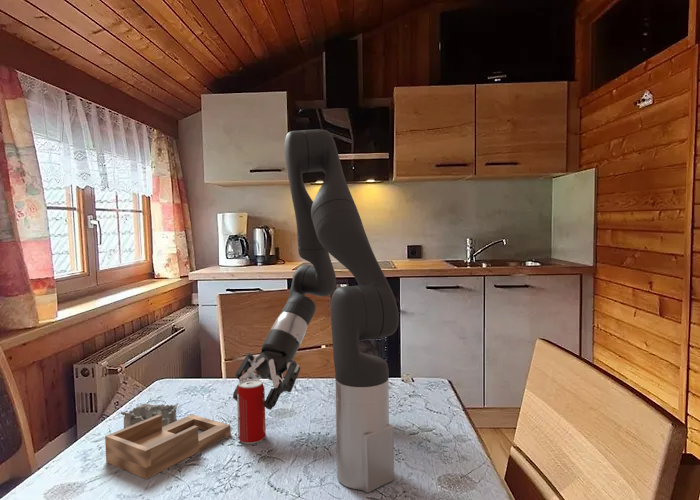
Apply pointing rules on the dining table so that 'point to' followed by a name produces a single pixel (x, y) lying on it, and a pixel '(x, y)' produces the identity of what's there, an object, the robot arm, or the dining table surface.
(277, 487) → the dining table surface
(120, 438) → the two-compartment wooden tray
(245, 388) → the soda can
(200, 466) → the dining table surface
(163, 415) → the grey piece
